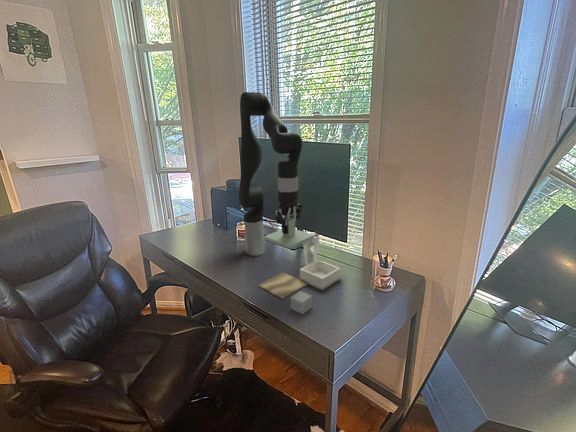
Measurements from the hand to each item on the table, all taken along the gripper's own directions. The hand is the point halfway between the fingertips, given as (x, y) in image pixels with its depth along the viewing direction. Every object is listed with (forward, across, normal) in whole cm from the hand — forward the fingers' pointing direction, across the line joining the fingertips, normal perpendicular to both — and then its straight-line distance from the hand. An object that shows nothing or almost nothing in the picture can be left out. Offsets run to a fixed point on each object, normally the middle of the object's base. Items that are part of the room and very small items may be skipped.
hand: (288, 231), depth 122 cm
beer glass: (+23, -18, -4) cm, 30 cm away
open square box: (+23, -11, +7) cm, 26 cm away
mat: (+23, +3, -1) cm, 23 cm away
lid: (+3, 0, 0) cm, 3 cm away
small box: (+23, +9, +15) cm, 29 cm away
